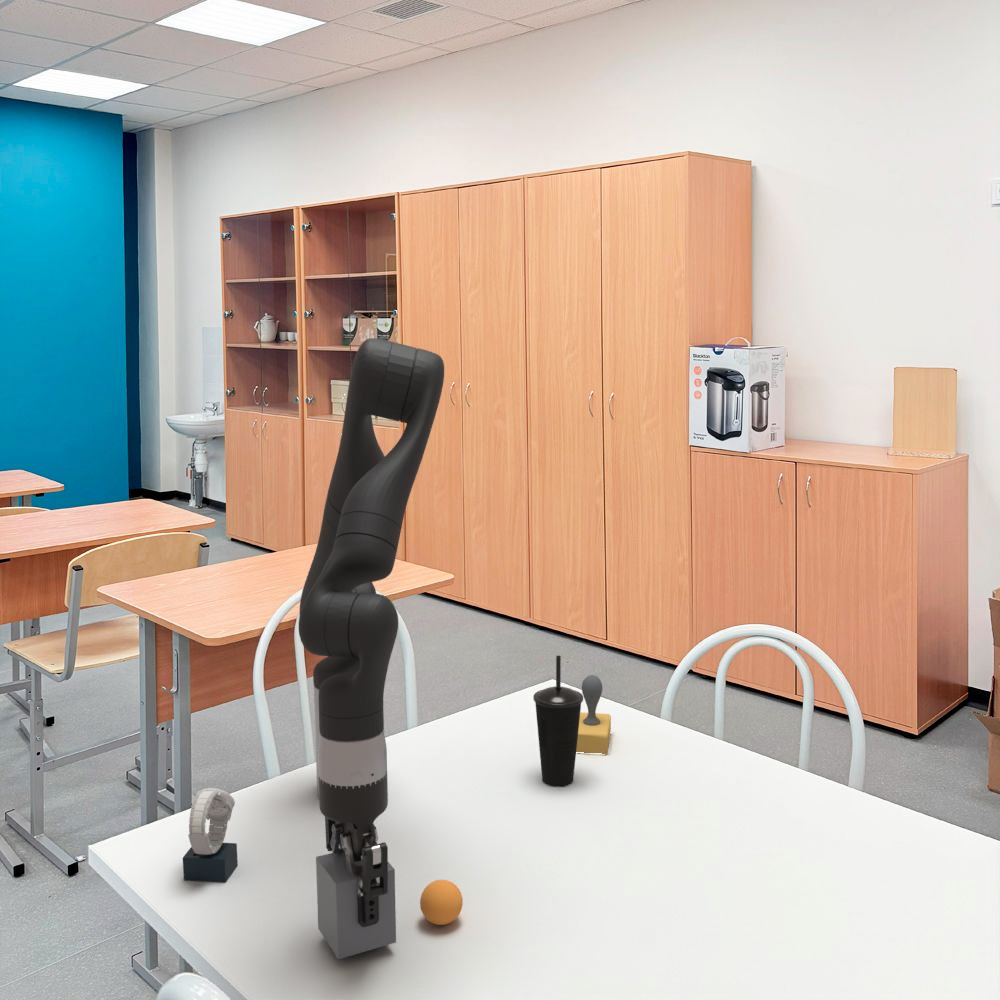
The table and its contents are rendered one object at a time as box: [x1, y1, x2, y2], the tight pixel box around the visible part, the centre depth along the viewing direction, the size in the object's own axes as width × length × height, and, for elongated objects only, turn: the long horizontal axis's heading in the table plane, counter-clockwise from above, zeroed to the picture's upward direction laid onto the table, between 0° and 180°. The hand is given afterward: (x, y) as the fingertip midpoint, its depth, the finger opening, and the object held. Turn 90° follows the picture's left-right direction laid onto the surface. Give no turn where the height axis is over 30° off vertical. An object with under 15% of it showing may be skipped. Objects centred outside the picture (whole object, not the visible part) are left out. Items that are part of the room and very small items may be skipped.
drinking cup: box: [533, 655, 584, 787], centre depth 161 cm, size 8×8×20 cm
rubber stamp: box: [576, 674, 612, 755], centre depth 176 cm, size 10×6×12 cm, turn 171°
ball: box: [419, 879, 464, 926], centre depth 123 cm, size 5×5×5 cm
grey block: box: [315, 852, 397, 960], centre depth 118 cm, size 7×7×9 cm
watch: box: [182, 787, 239, 883], centre depth 134 cm, size 6×8×11 cm
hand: (356, 907), depth 118 cm, fingers closed on grey block, 7 cm apart
